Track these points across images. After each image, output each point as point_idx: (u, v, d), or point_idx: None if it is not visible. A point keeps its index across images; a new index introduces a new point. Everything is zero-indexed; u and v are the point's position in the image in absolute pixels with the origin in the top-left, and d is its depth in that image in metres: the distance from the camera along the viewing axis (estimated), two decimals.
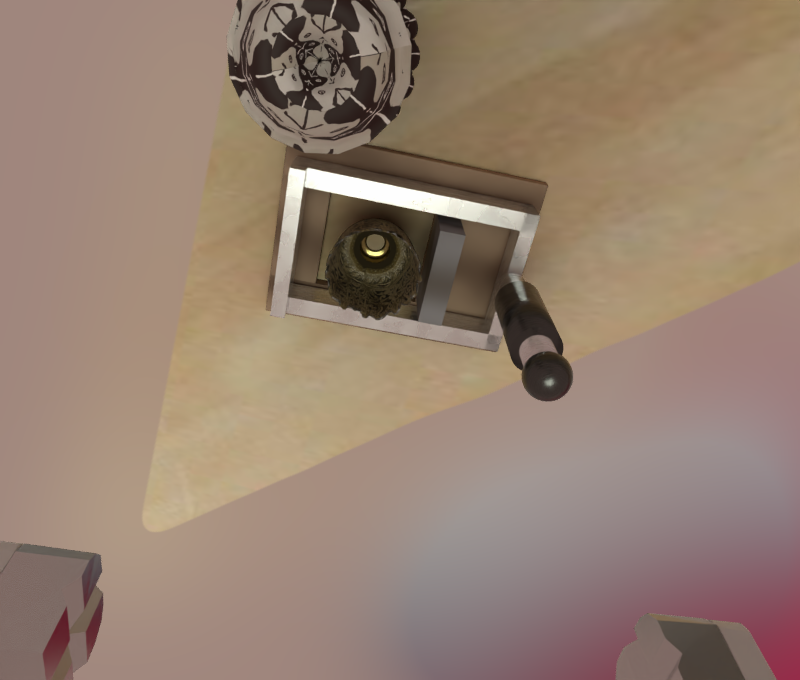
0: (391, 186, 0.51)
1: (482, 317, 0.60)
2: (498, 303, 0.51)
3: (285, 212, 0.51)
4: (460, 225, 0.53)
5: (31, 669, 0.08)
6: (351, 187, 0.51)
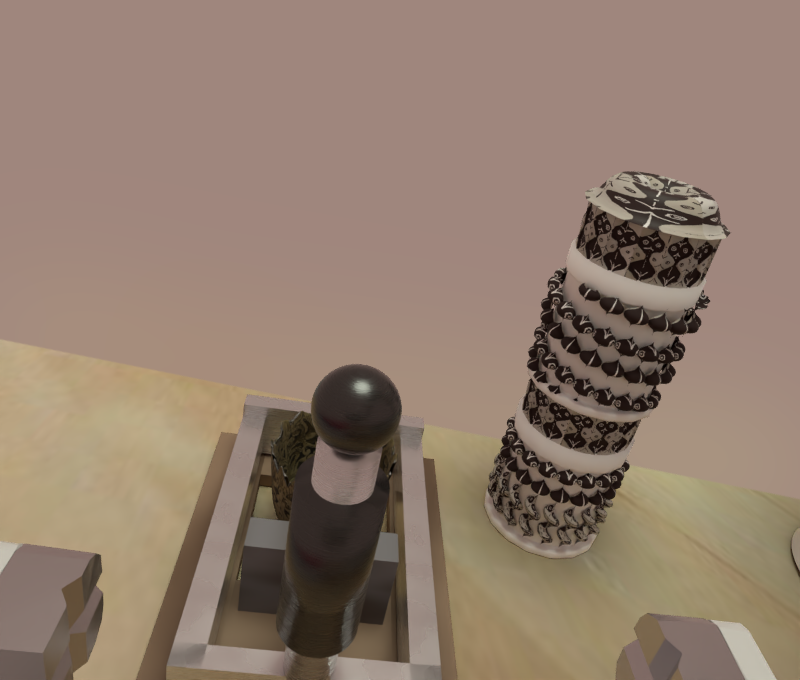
0: (425, 505, 0.41)
1: None
2: None
3: None
4: (390, 591, 0.36)
5: (31, 669, 0.08)
6: (412, 471, 0.43)
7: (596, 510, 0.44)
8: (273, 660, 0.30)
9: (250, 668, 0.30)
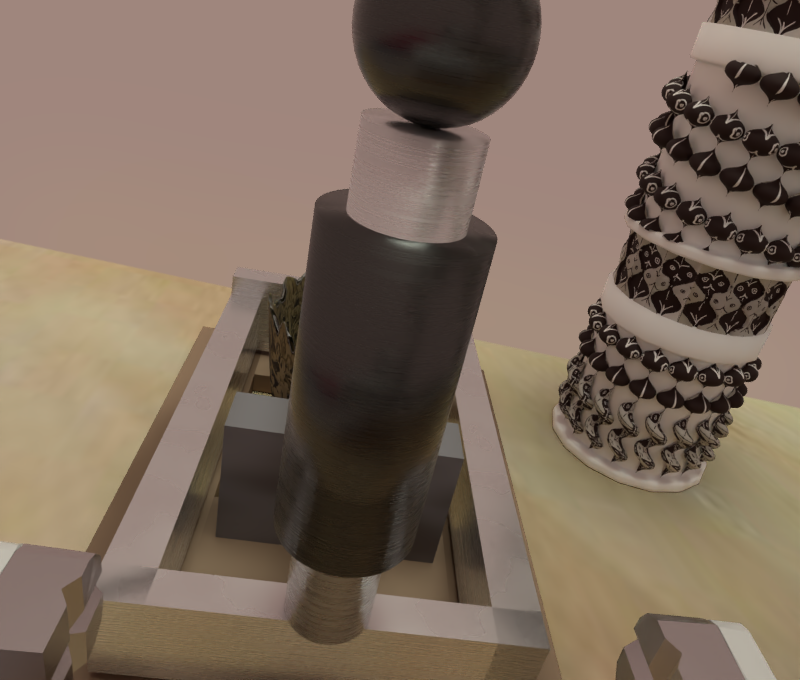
0: (487, 403, 0.29)
1: None
2: None
3: None
4: None
5: (31, 669, 0.08)
6: (464, 365, 0.31)
7: (715, 424, 0.32)
8: (268, 595, 0.18)
9: (229, 607, 0.17)
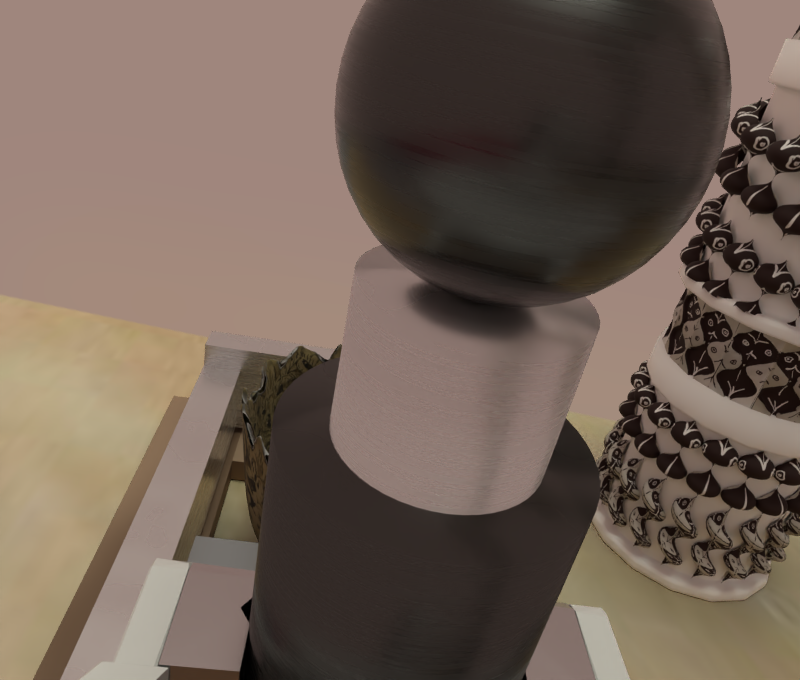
0: None
1: None
2: None
3: None
4: None
5: None
6: None
7: (789, 522, 0.27)
8: None
9: None
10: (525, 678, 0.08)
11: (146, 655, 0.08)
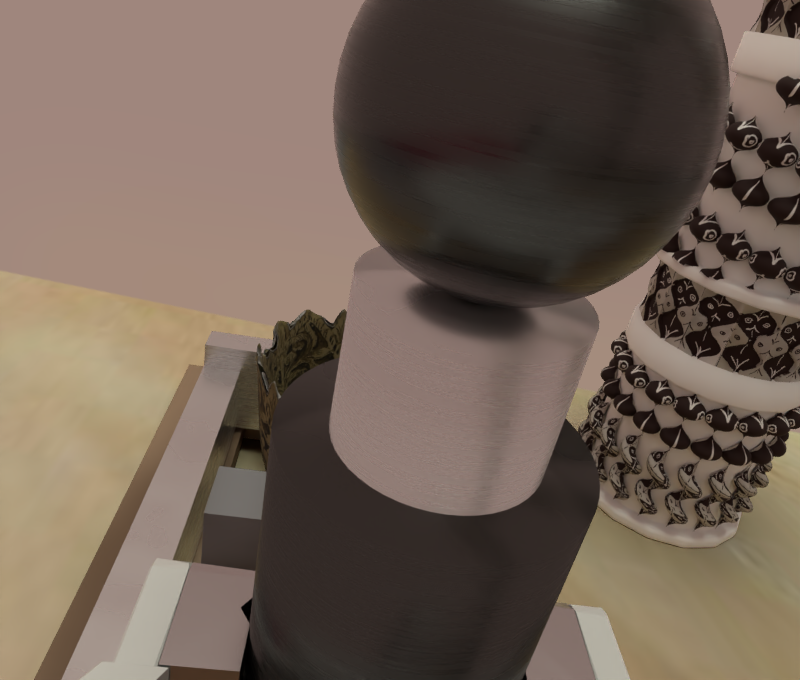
0: None
1: None
2: None
3: None
4: None
5: None
6: None
7: (754, 474, 0.29)
8: None
9: None
10: (525, 678, 0.08)
11: (146, 655, 0.08)
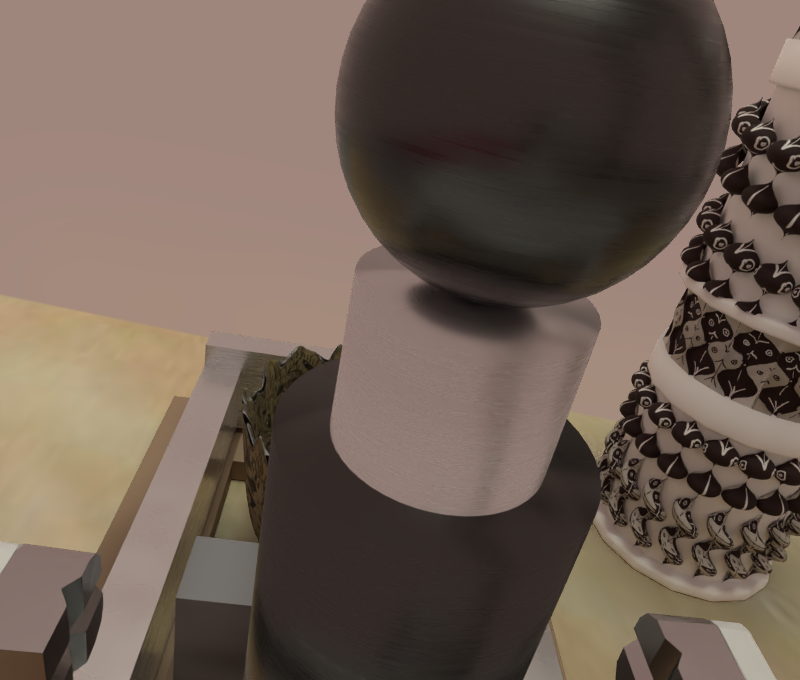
0: None
1: None
2: None
3: None
4: None
5: (31, 669, 0.08)
6: None
7: (789, 522, 0.27)
8: None
9: None
10: None
11: None
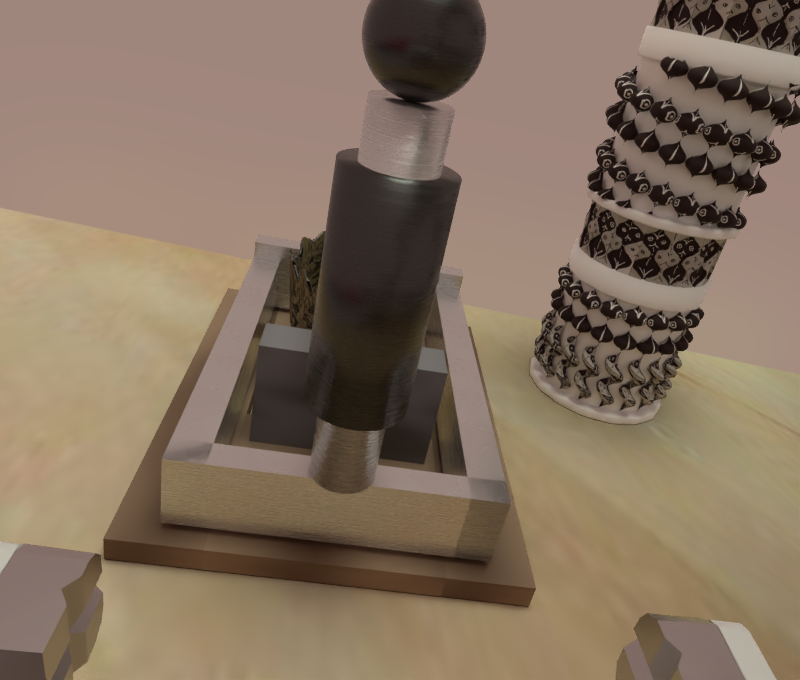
0: (470, 343, 0.35)
1: None
2: None
3: None
4: None
5: (31, 669, 0.08)
6: (451, 315, 0.37)
7: (665, 366, 0.38)
8: (297, 462, 0.24)
9: (269, 468, 0.23)
10: None
11: None
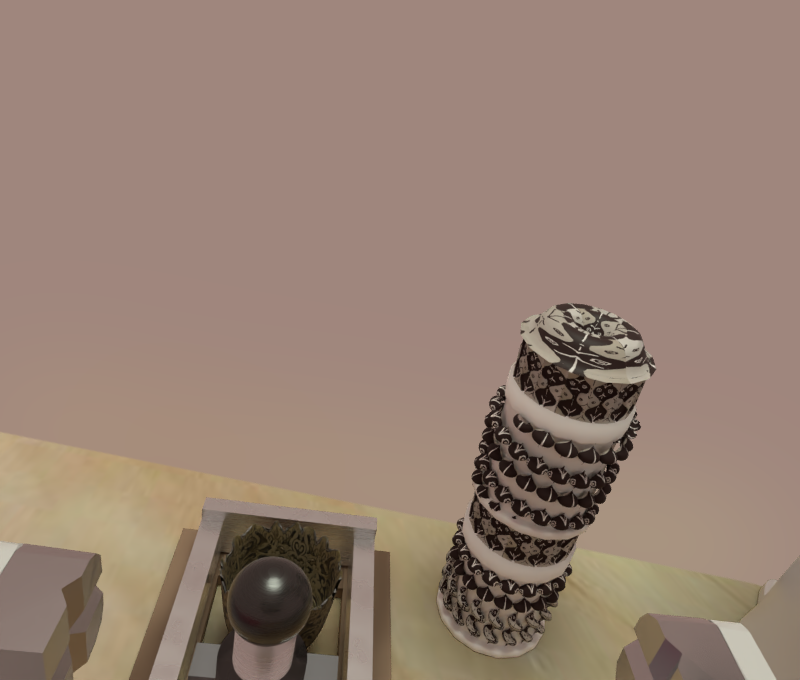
0: (371, 615, 0.43)
1: None
2: None
3: (330, 513, 0.48)
4: None
5: (31, 669, 0.08)
6: (362, 577, 0.45)
7: (540, 612, 0.46)
8: None
9: None
10: None
11: None
